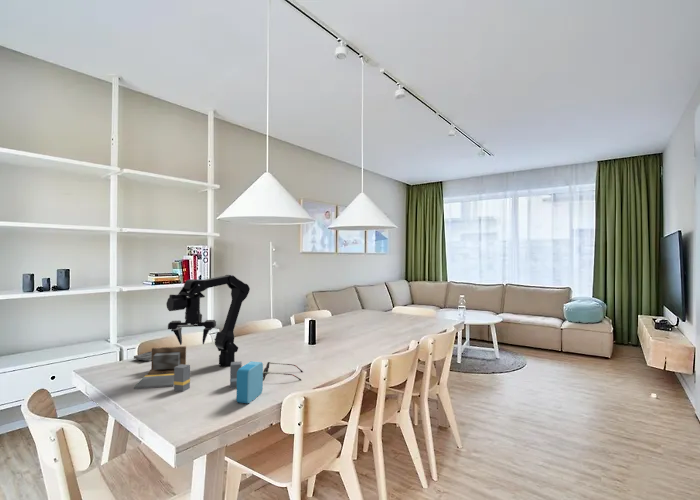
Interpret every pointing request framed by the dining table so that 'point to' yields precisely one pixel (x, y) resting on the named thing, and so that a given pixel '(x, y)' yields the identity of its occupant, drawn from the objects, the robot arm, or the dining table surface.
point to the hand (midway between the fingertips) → (192, 344)
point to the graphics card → (144, 356)
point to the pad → (156, 381)
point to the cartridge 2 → (234, 373)
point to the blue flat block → (249, 382)
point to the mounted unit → (167, 359)
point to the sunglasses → (277, 373)
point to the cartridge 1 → (181, 377)
